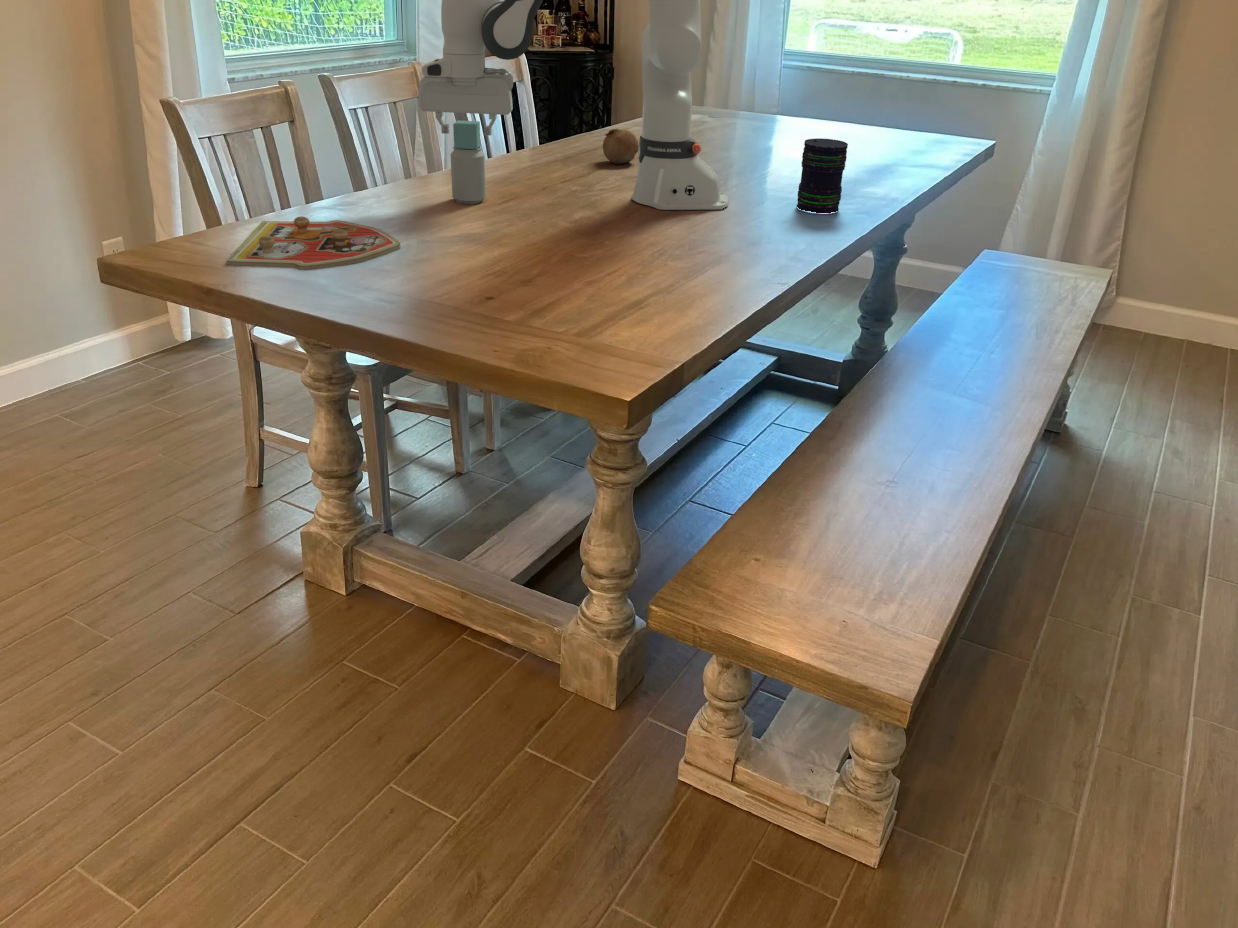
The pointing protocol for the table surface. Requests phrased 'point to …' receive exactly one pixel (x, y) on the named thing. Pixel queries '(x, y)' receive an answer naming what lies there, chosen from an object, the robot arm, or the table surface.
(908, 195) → the table surface
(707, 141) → the table surface
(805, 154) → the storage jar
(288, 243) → the knob puzzle
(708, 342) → the table surface
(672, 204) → the robot arm
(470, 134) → the teal block
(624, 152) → the onion
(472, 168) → the can
